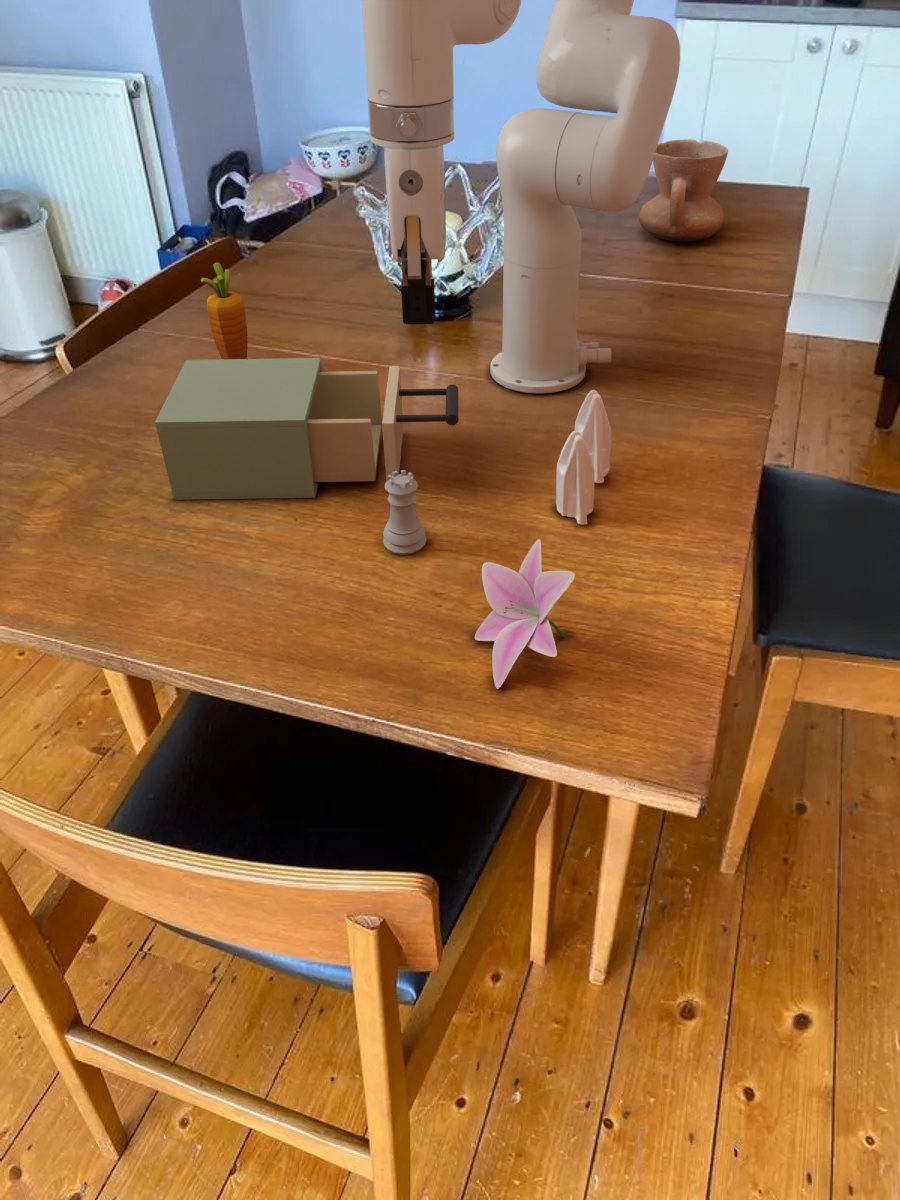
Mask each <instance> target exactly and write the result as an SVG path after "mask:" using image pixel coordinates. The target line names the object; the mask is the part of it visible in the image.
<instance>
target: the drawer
mask: <svg viewBox="0 0 900 1200" xmlns="http://www.w3.org/2000/svg"><path fill="white" fill-rule="evenodd" d="M401 378H402V377H401V366H400V365H389V368H388V375H387V383H386V389H385V390H386V391H385V399H384V406H383V413H382V407H381V393H380V382H379V371H378V370H344V371H343V370H342V371H339V370H338V371H337V370H335V371H322V372H319V376H318V380H317V383H316V387H315V391H314V395H313V399H312V403H311V407H310V411H309V415H308V419H307V429H308V437H309V444H310V452H311V459H312V466H313V474H314V481H315V482H319V483H329V482H330V483H331V482H332V483H336V482H338V483H339V482H341V483H343V482H346V483H347V482H376V478H377V472H378V471H377V470H378V464H379V463H378V462H379V457H380V455H379V454H380V447H381V438H383V453H384V465H385V478H386V481H387V480H388V475H392V472H394V471H397V475H398V474H400V470H401V469H400V468H401V467H400V466H401V458H402V448H403V447H402V446H403V434H404V423H439V422H440V423H441V422H445V424H447V425H448V426H455V425H457V424H458V423H459V387H458V386H457V385H456V384H448V386H446V388H408V389H407V388H402V379H401ZM425 396H426V397H430V396H433V397H434V396H435V397H436V396H445V414H443V413H442V414H440V413H439V414H403V411H404V410H403V398H402V397H425Z"/></svg>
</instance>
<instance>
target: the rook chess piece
mask: <svg viewBox="0 0 900 1200" xmlns="http://www.w3.org/2000/svg"><path fill="white" fill-rule="evenodd" d="M418 487H419V484H418V481H417V480H416V479H415V476H414V473H412V472H411V471H409V472H407V470H405V469H400V473H399V474H398V475H397V471H394V472H392V475H388V480H386V482H385V483H384V489H385V491H386V492H388V494H389V495H388V497H387V502H388V503H389V507H390V508H389V518H388V520H387V522H386V524H385V526H384V528H383V532H382V536H383V539H382V543H383V546H384V547H385V548H386V549H387V550H389V552H391V553H393V554H395V555H399V556H406V555H413V554H415V553H417V552H419V551H420V550H421V549H422V548H423V547H424V546H425V545H426V543H427V536H426V529H425V526H424V524H423V523H422V522H421V520H420V518H419V517H418V514H417V511H416V505H415V504H416V503H415V502H416V501H417V496H416V494H415V493H414V492H415V491H416V490H417V489H418Z"/></svg>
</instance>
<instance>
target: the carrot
mask: <svg viewBox="0 0 900 1200" xmlns="http://www.w3.org/2000/svg"><path fill="white" fill-rule="evenodd" d="M212 266H213V270H214V271H215V274H216V277H215V278H214V279H213V281H212V279H210V278H207V277H201V278H200V282H201V283H203V284H204V285H207V286H209V287H210V288H211V289H212V290H213V291H214V292H215V293H214V294H211V295H209V296H208V297H207V298H206V313H207V317H208V321H209V326H210V330H211V334H212V337H213V341H214V343H215V347H216V349H217V351H218V355H219V356H220V358H221V359H248V346H249V345H248V325H247V316H246V310H245V309H246V308H245V302H244V298H243V296H242V295H241V294H240V293H237V292H233V291H229V287H230V282H231V271H230V270H229V269H228V268H227V269H226V268H225V269H223V267H222V265H221V263H220V262H215V263H213V264H212Z"/></svg>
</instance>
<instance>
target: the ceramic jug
mask: <svg viewBox="0 0 900 1200" xmlns="http://www.w3.org/2000/svg"><path fill="white" fill-rule="evenodd" d="M728 155H729V149H728V148H727V147H726V146H725V145H722V144H720V143H719V142H715V141H709V140H701V141H700V142H699V141H698V140H697V139H692V138H691V139H687V138H685V139H672V140H667V141H664V142H660V143H658V146H657V149H656V152H655V155H654V158H653V161H652V164H653V170H654V174H655V178H656V182H657V186H658V189H659V193H658V194H657V195H655V196H654V197H653V198H651V199H650V200H648V201H646V202H645V203H644V204H643V205H642V207H641V209H640V211H639V213H638V220H639V224H640V226H641V228H642V229H643V230H644V231H645V232H647V233H648V234H650V235H651V236H654V237H656V238H659V239H662V240H666V241H671V242H683V243H684V242H686V243H687V242H697V241H701V240H705V239H707V238H710V237H712V236H713V235H715V234H716V233H718V232H719V231H720V230H721V228H722V227H723V224H724V221H725V212H724V209H723V207H722V205H720V203H718V201H716V200H715V199H714V198H713V197H712V196H711V195H710V194H711V193H712V191H713V189H714V188H715V185H716V183H717V182H718V180H719V178H720V176H721V173H722V171H723V170H724V166H725V164H726V161H727V157H728Z"/></svg>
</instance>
